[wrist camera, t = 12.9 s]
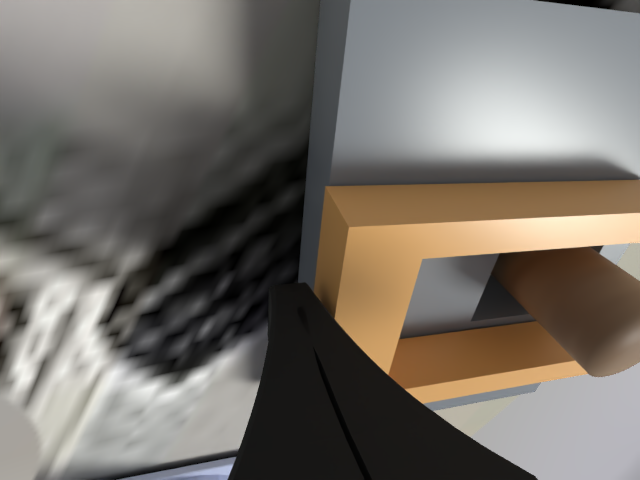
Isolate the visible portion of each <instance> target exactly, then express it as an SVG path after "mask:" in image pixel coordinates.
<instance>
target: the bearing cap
mask: <svg viewBox="0 0 640 480" xmlns="http://www.w3.org/2000/svg"><path fill="white" fill-rule="evenodd" d="M627 243H640V180H603V181H555V182H507V183H459V184H411V185H363V186H325V194H324V203H323V212H322V221H321V230H320V239H319V249H318V258H317V267H316V276H315V285H314V293H315V295H316V296H317V297H318V299H319V300H320V301H321V303H322V304H323V305H324V307H325V308H326V309H327V310H328V312H329V313H330V314H331V315H332V317H333V318H334V319H335V320H336V321H337V323H338V324H339V325H340V326H341V327H342V328H343V329H344V330H345V332H346V333H347V334H348V335H349V336H350V337H351V338H352V340H353V341H354V342H355V343H356V344H357V345H358V346H359V347H360V348H361V349H362V350H363V351H364V352H365V353H366V354H367V355H368V356H369V357H370V358H371V359H372V360H373V361H374V362H375V363H376V364H377V365H378V366H379V367H380V368H381V369H382V370H383V371H384V372H385V373H386V374H388V375H389V376H390V377H391V378H392V379H393V380H394V381H396V382H397V383H398V384H399V385H400V386H401V387H402V388H404V389H405V390H406V391H407V392H409V393H410V394H411V395H412V396H413V397H415V398H416V399H417V400H418V401H420V402H421V403H422V404H424V403H429V402H435V401H440V400H446V399H451V398H457V397H462V396H468V395H473V394H479V393H484V392H490V391H495V390H501V389H507V388H512V387H518V386H523V385H529V384H534V383H540V382H545V381H551V380H556V379H562V378H567V377H573V376H578V375H584V374H588V373H587V372H586V371H585V370H584V369H583V368H582V367H581V366H580V365H579V364H578V363H577V362H576V361H575V360H574V359H573V358H572V357H571V356H570V354H569V353H568V352H567V351H566V350H565V349H564V348H563V347H562V346H561V345H560V344H559V343H558V342H557V341H556V340H555V339H554V338H553V337H552V336H551V335H550V334H549V333H548V332H547V331H546V330H545V329H544V328H543V327H542V326H541V325H540V324H539V323H538V322H537V321H534V322H526V323H519V324H511V325H504V326H496V327H488V328H481V329H473V330H466V331H458V332H450V333H443V334H435V335H428V336H420V337H412V338H405V339H399V337H400V333H401V330H402V327H403V323H404V320H405V316H406V313H407V310H408V306H409V303H410V300H411V296H412V293H413V289H414V286H415V283H416V279H417V276H418V272H419V269H420V266H421V262H422V259H428V258H441V257H455V256H468V255H481V254H494V253H508V252H521V251H534V250H548V249H561V248H574V247H587V246H601V245H614V244H627Z"/></svg>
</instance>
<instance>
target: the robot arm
mask: <svg viewBox="0 0 640 480" xmlns="http://www.w3.org/2000/svg"><path fill="white" fill-rule="evenodd" d="M268 341H269V342H268V348H267V353H266V358H265V363H264V368H263V372H262V376H261V380H260V384H259V388H258V392H257V396H256V399H255V403H254V406H253V409H252V413H251V416H250V419H249V422H248V425H247V428H246V431H245V434H244V437H243V440H242V443H241V446H240V448H239V451H238V454H237V456H236V457H231V458H226V459H221V460H216V461H211V462H206V463H200V464H195V465H190V466H185V467H180V468H175V469H169V470H164V471H159V472H154V473H149V474H144V475H138V476H133V477H128V478H123V479H118V480H538V479H537V478H536V477H535V476H534V475H532V474H530V473H529V472H527V471H525V470H523V469H522V468H520V467H518V466H516V465H514V464H513V463H511V462H510V461H508V460H506V459H504V458H503V457H501V456H499V455H498V454H496V453H494V452H492V451H491V450H489V449H487V448H486V447H484V446H483V445H481V444H479V443H478V442H476V441H475V440H473V439H472V438H470V437H469V436H467V435H466V434H464V433H463V432H461V431H460V430H458V429H457V428H455V427H454V426H452V425H451V424H450V423H448V422H447V421H445V420H444V419H443V418H441V417H440V416H439V415H437V414H436V413H435V412H433V411H432V410H430V409H429V408H428V407H426V406H425V405H424V404H422V403H421V402H420V401H418V400H417V399H416V398H415V397H413V396H412V395H411V394H410V393H409V392H407V391H406V390H405V389H404V388H402V387H401V386H400V385H399V384H398V383H397V382H396V381H394V380H393V379H392V378H391V377H390V376H389V375H388V374H386V373H385V372H384V371H383V370H382V369H381V368H380V367H379V366H378V365H377V364H376V363H375V362H374V361H373V360H372V359H371V358H370V357H369V356H368V355H367V354H366V353H365V352H364V351H363V350H362V349H361V348H360V347H359V346H358V345H357V344H356V343H355V342H354V341H353V340H352V338H351V337H350V336H349V335H348V334H347V333H346V332H345V330H344V329H343V328H342V327H341V326H340V325H339V324H338V323H337V321H336V320H335V319H334V318H333V317H332V315H331V314H330V313H329V312H328V310H327V309H326V308H325V307H324V305H323V304H322V303H321V301H320V300H319V299H318V297H317V296H316V295H315V293H314V292H313V291H312V289H311V288H310V286H309V285H308V284H307V283H306V282H303V283H291V284H279V285H273V286H271V287H270V288H269V307H268Z"/></svg>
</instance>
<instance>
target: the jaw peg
mask: <svg viewBox="0 0 640 480" xmlns="http://www.w3.org/2000/svg"><path fill="white" fill-rule="evenodd" d="M491 275H492V276H493V277H494V278H495V279H496V280H497V281H498V282H499V283H500V284H501V285H502V286H503V287H504V288H505V289H506V290H507V291H508V292H509V293H510V294H511V295H512V296H513V297H514V298H515V299H516V300H517V301H518V302H519V303H520V304H521V305H522V306H523V307H524V309H525V310H526V311H527V312H528V313H529V314H530V315H531V316H532V317H533V318H534V319H535V320H536V321H537V322H538V323H539V324H540V325H541V326H542V327H543V328H544V329H545V330H546V331H547V332H548V333H549V334H550V335H551V336H552V337H553V338H554V339H555V340H556V341H557V342H558V343H559V344H560V345H561V346H562V347H563V348H564V349H565V350H566V351H567V352H568V353H569V354H570V356H571V357H572V358H573V359H574V360H575V361H576V362H577V363H578V364H579V365H580V366H581V367H582V368H583V369H584V370H585V371H586V372H587V373H588V374H589V375H591V376H594V377H604V376H609V375H613V374H616V373H619V372H621V371H624V370H626V369H628V368H630V367H632V366H634V365H635V364H637V363H639V362H640V281H638V280H637V279H636V278H634V277H633V276H631V275H630V274H628V273H627V272H625V271H624V270H623V269H621V268H620V267H618V266H617V265H615V264H614V263H612V262H611V261H610V260H608V259H607V258H605V257H604V256H602V255H601V254H599V253H598V252H597V251H595V250H594V249H592V248H591V247H589V246H587V247H574V248H561V249H548V250H534V251H521V252H508V253H499V256H498V258H497V261H496V263H495V265H494V268H493V270H492V272H491Z"/></svg>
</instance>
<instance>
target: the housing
mask: <svg viewBox="0 0 640 480" xmlns="http://www.w3.org/2000/svg"><path fill="white" fill-rule="evenodd" d="M603 180H640V13H632V12H624V11H616V10H608V9H600V8H592V7H584V6H576V5H568V4H559V3H551V2H543V1H535V0H320V10H319V23H318V36H317V48H316V61H315V73H314V86H313V99H312V111H311V124H310V136H309V149H308V162H307V174H306V187H305V199H304V212H303V224H302V237H301V250H300V262H299V275H298V283H303V282H306V283H307V284H308V285H309V286H310V288H311V289H312V291H313V292H314V285H315V276H316V267H317V258H318V249H319V239H320V230H321V221H322V212H323V203H324V194H325V186H363V185H411V184H459V183H507V182H555V181H603ZM629 244H630V243H627V244H614V245H601V246H589V247H591V248H592V249H594V250H595V251H597V252H598V253H599V254H601V255H602V256H604V257H605V258H607V259H608V260H610V261H611V262H612V263H614V264H615V265H617V263H618V262H619V260H620V258H621V257H622V255H623V254H624V252H625V251H626V249H627V248H628V246H629ZM498 256H499V253H494V254H481V255H468V256H455V257H441V258H428V259H422V262H421V266H420V269H419V272H418V276H417V279H416V283H415V286H414V289H413V293H412V296H411V300H410V303H409V306H408V310H407V313H406V316H405V320H404V323H403V327H402V330H401V333H400V337H399V339H405V338H412V337H420V336H428V335H435V334H443V333H450V332H458V331H466V330H473V329H481V328H488V327H496V326H504V325H511V324H519V323H526V322H534V321H536V320H535V319H534V318H533V317H532V316H531V315H530V314H529V313H528V312H527V311H526V310H525V309H524V307H523V306H522V305H521V304H520V303H519V302H518V301H517V300H516V299H515V298H514V297H513V296H512V295H511V294H510V293H509V292H508V291H507V290H506V289H505V288H504V287H503V286H502V285H501V284H500V283H499V282H498V281H497V280H496V279H495V278H494V277H493V276H492V275H491V272H492V270H493V268H494V265H495V263H496V261H497V258H498ZM540 383H541V382H540ZM540 383H534V384H529V385H523V386H518V387H512V388H507V389H501V390H495V391H490V392H484V393H479V394H473V395H468V396H462V397H457V398H451V399H446V400H440V401H435V402H429V403H424V405H425V406H426V407H428V408H429V409H430V410H432V411H435V410H440V409H445V408H451V407H456V406H461V405H467V404H472V403H477V402H483V401H488V400H493V399H499V398H504V397H509V396H515V395H520V394H525V393H531V392H535V391H536V389H537V388H538V386H539V385H540Z"/></svg>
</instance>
